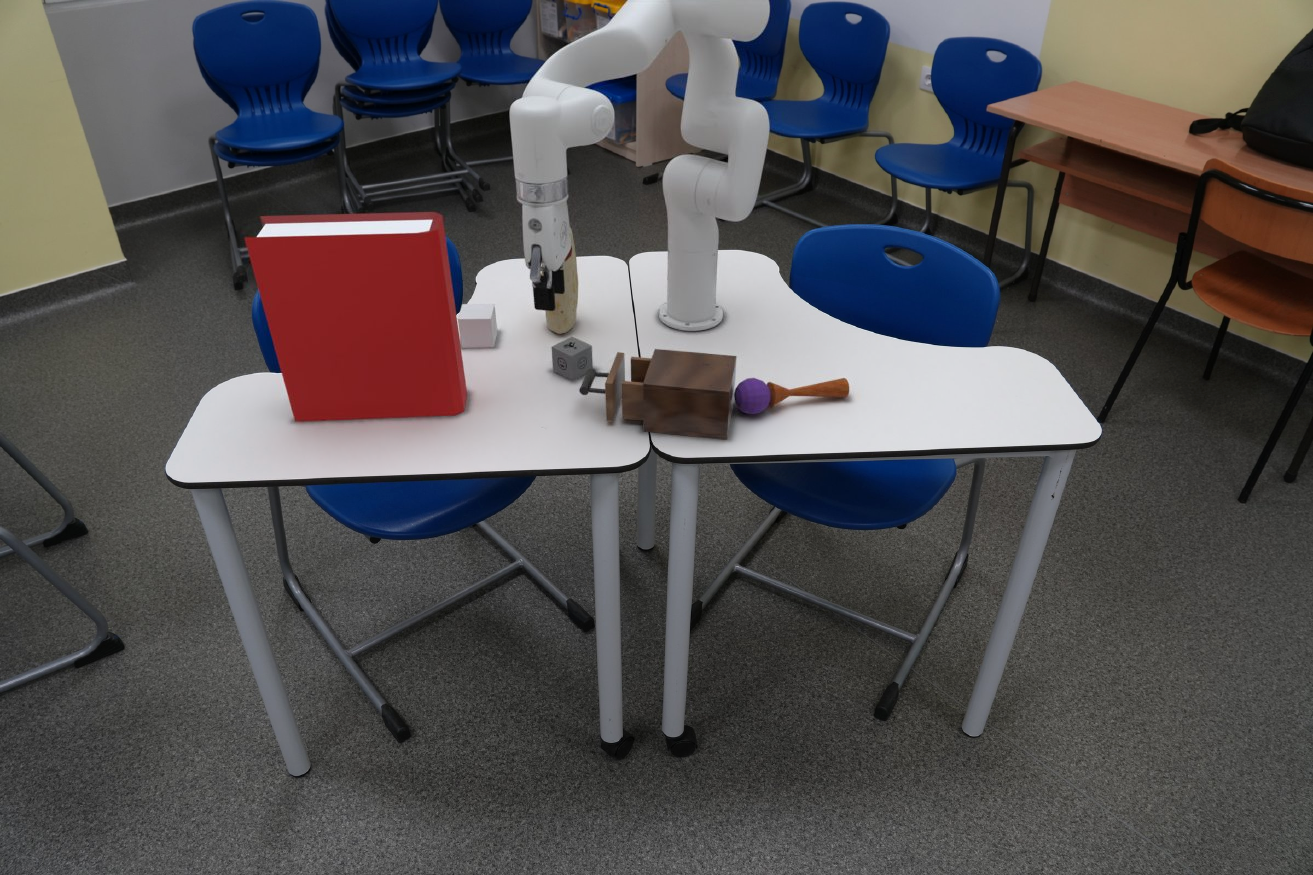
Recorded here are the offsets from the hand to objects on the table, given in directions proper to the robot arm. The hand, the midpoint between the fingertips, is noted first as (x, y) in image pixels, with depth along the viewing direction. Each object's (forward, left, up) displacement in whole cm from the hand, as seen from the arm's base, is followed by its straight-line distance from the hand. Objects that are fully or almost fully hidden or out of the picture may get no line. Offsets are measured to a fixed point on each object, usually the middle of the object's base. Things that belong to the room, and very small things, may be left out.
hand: (550, 300), depth 142 cm
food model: (-27, -6, -20) cm, 34 cm away
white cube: (-19, -20, -20) cm, 34 cm away
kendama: (-6, +39, -20) cm, 44 cm away
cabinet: (0, +23, -19) cm, 30 cm away
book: (+5, -29, -20) cm, 35 cm away
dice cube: (-11, 0, -20) cm, 23 cm away
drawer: (0, +13, -19) cm, 23 cm away
